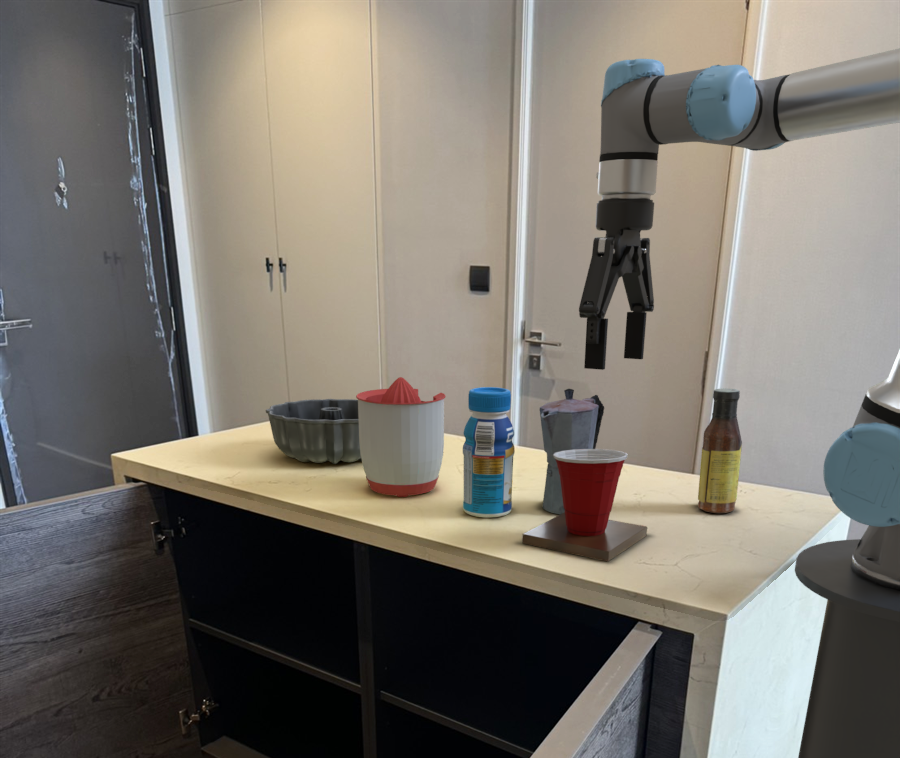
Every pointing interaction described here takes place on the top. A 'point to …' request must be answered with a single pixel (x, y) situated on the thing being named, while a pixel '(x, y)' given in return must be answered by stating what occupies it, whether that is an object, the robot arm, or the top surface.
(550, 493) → the moka pot
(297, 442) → the bundt pan
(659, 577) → the top surface
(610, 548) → the trivet board
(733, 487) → the sauce bottle
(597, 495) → the plastic cup
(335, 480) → the top surface
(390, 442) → the citrus juicer
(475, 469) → the beverage bottle
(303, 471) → the top surface
